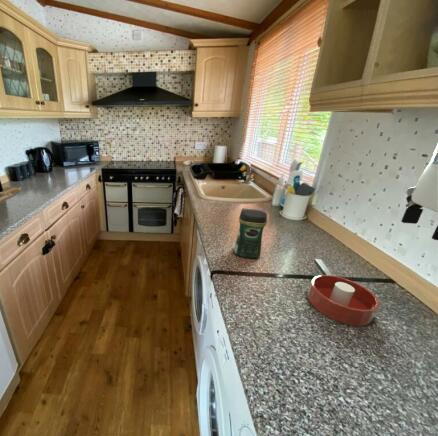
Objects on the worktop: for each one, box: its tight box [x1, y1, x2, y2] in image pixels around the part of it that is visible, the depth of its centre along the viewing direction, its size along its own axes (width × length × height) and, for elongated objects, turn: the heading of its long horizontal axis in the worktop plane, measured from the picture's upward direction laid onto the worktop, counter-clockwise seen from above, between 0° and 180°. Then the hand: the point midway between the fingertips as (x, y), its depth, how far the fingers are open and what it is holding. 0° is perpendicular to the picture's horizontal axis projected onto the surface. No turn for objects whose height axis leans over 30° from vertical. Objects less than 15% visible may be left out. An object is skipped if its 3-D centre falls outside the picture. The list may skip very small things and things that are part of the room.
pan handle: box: [313, 258, 334, 276], centre depth 80 cm, size 2×10×1 cm, turn 167°
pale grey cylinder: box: [330, 282, 355, 307], centre depth 69 cm, size 4×4×6 cm
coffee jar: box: [233, 207, 268, 259], centre depth 93 cm, size 10×8×19 cm
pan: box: [307, 274, 381, 327], centre depth 69 cm, size 15×15×5 cm
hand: (423, 230), depth 59 cm, fingers open, 9 cm apart
